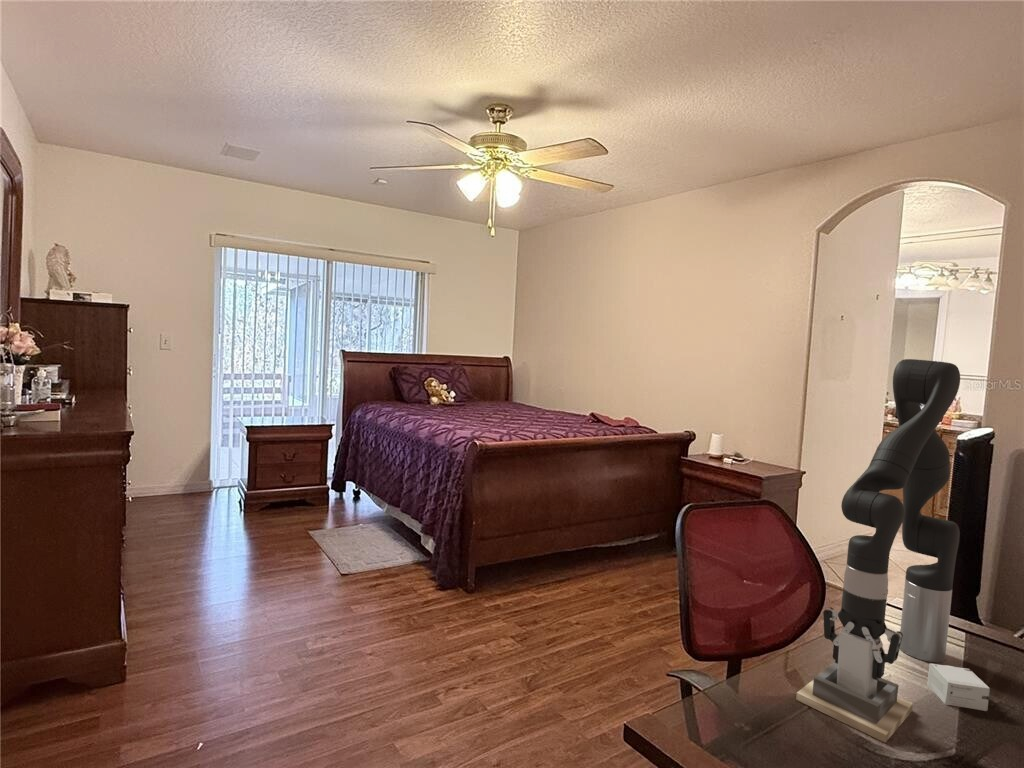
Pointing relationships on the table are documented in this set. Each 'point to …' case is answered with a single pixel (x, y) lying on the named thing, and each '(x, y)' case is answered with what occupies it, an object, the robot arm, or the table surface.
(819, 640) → the table surface
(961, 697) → the small box
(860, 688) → the skincare box
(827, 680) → the keyed socket block
